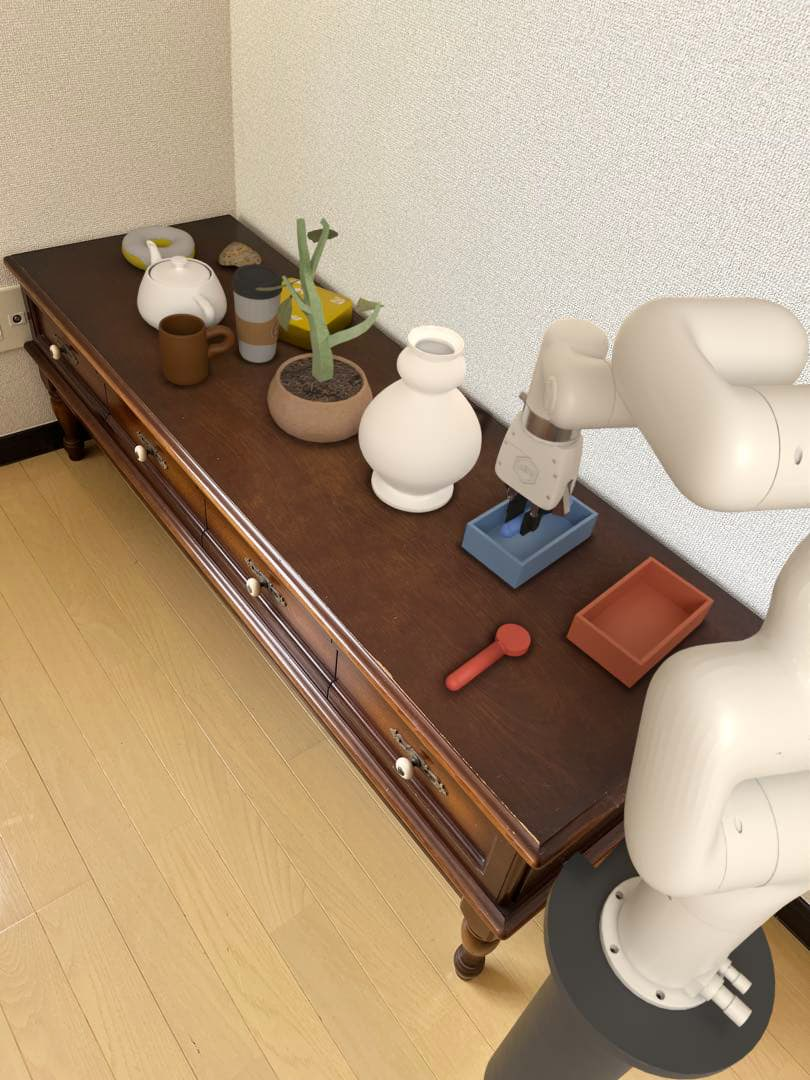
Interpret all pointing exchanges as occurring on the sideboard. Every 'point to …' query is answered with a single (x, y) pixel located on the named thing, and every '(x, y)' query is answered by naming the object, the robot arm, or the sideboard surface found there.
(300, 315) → the element tile
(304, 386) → the potted plant
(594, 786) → the sideboard surface
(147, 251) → the donut
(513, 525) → the blue spoon
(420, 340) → the decorative vase
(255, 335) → the coffee cup
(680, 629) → the red bin
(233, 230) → the sideboard surface
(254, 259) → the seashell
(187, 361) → the mug
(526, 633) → the red spoon
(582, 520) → the blue bin
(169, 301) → the teapot
